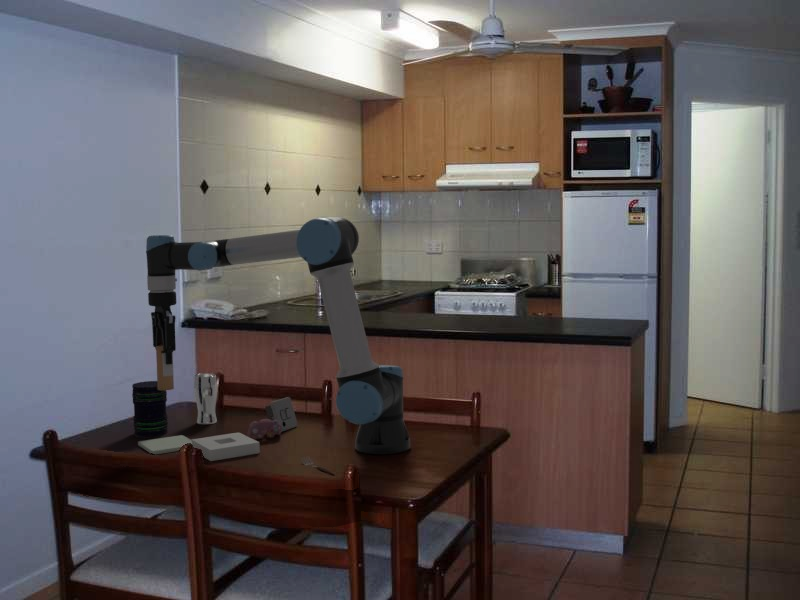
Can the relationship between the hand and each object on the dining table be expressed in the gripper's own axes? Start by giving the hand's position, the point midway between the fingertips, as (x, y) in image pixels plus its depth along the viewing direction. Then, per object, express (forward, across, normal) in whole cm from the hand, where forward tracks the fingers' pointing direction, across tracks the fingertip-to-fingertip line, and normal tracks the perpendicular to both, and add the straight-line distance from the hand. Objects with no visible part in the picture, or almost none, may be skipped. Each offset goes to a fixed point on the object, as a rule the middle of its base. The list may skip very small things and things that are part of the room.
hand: (165, 374), depth 261 cm
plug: (+4, 0, 0) cm, 4 cm away
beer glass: (+21, +22, -20) cm, 36 cm away
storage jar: (+21, +18, -1) cm, 28 cm away
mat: (+20, 0, 0) cm, 20 cm away
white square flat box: (+20, -15, -11) cm, 28 cm away
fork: (+21, -45, -24) cm, 55 cm away
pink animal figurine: (+21, -7, -26) cm, 34 cm away
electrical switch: (+21, 0, -35) cm, 41 cm away
